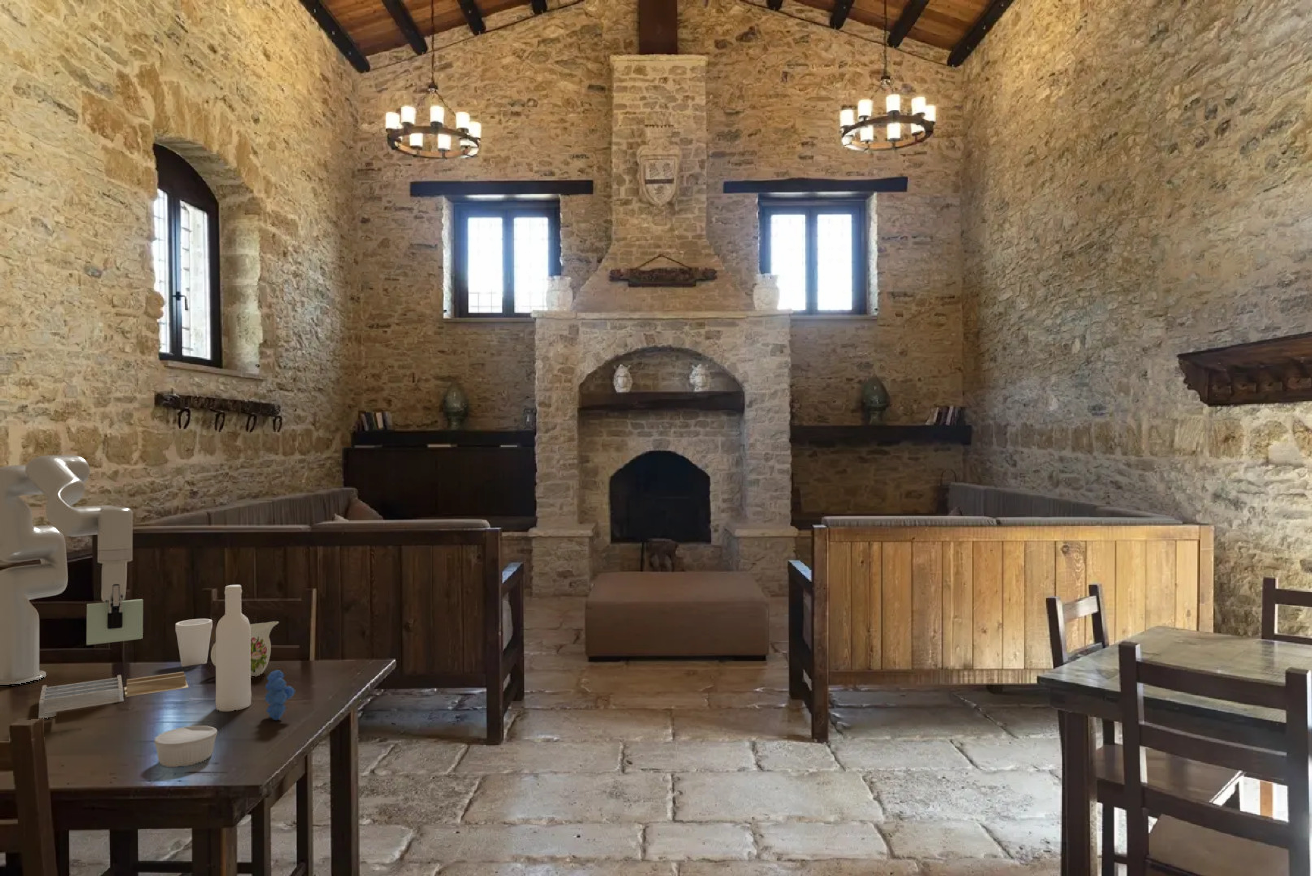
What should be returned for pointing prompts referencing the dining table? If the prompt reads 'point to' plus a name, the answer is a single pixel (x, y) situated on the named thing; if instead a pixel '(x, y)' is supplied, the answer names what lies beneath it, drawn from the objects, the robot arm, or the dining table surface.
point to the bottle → (233, 655)
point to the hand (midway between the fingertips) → (114, 626)
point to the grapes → (277, 694)
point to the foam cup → (193, 641)
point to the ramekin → (185, 745)
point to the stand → (155, 684)
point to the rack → (79, 695)
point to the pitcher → (256, 647)
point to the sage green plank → (129, 630)
